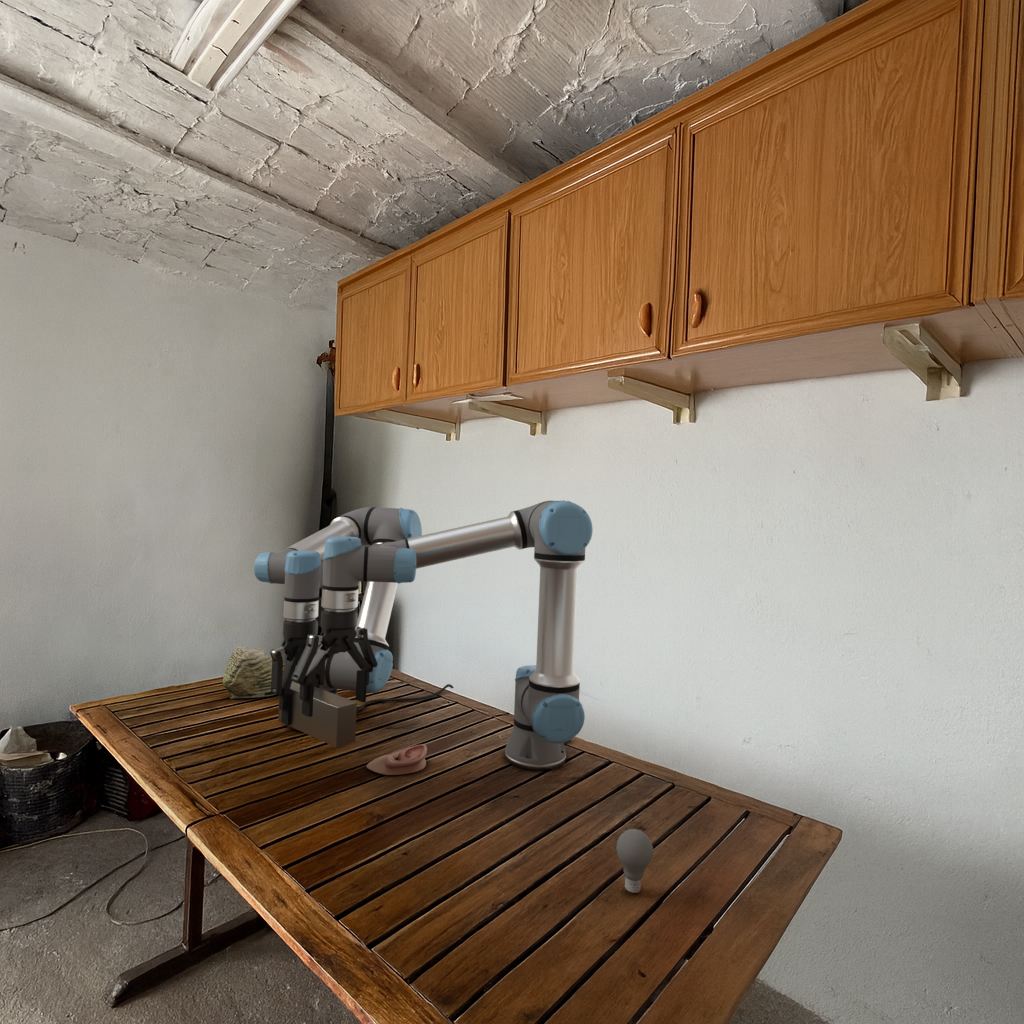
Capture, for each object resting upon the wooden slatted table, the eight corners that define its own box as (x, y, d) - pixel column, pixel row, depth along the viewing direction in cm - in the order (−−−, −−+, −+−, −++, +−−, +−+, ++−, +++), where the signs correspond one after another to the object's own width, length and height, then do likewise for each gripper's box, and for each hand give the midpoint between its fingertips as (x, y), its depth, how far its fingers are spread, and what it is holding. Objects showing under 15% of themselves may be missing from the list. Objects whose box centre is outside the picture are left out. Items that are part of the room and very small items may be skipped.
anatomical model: (361, 754, 146) (381, 736, 157) (360, 771, 146) (380, 752, 157) (415, 762, 143) (432, 743, 155) (415, 779, 143) (431, 759, 155)
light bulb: (610, 879, 108) (613, 822, 108) (644, 879, 109) (647, 822, 109) (619, 902, 102) (622, 840, 102) (655, 901, 103) (658, 840, 103)
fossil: (218, 695, 195) (220, 647, 195) (278, 685, 208) (279, 640, 207) (228, 703, 189) (230, 653, 188) (289, 692, 201) (290, 645, 201)
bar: (277, 720, 145) (279, 684, 145) (297, 715, 149) (298, 680, 149) (336, 747, 131) (337, 707, 131) (355, 741, 135) (357, 702, 135)
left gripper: (273, 626, 135) (269, 735, 135) (343, 616, 149) (340, 715, 149) (255, 621, 139) (251, 726, 140) (324, 612, 153) (321, 707, 154)
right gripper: (297, 618, 123) (292, 726, 123) (396, 605, 142) (391, 699, 143) (276, 612, 128) (271, 716, 128) (374, 601, 147) (370, 691, 148)
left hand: (297, 720), depth 145 cm, fingers closed on bar, 5 cm apart
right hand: (334, 707), depth 135 cm, fingers open, 13 cm apart
